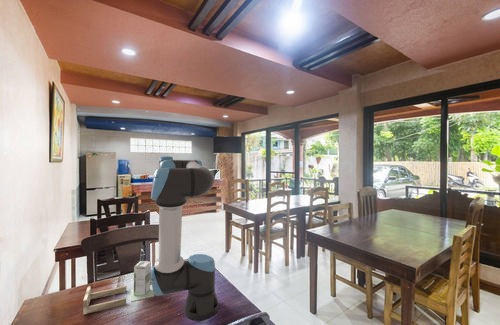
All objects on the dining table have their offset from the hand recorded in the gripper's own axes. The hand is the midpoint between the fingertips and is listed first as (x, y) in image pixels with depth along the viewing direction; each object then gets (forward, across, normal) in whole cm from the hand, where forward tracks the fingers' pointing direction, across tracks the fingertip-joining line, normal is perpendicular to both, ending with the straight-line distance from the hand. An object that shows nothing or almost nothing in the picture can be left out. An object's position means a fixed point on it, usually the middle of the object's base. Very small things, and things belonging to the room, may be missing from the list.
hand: (165, 219), depth 135 cm
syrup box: (+31, -15, +13) cm, 37 cm away
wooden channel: (+32, -15, +28) cm, 45 cm away
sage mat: (+32, -15, +13) cm, 37 cm away
